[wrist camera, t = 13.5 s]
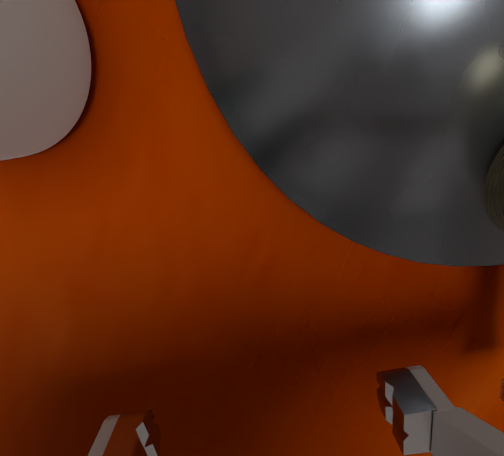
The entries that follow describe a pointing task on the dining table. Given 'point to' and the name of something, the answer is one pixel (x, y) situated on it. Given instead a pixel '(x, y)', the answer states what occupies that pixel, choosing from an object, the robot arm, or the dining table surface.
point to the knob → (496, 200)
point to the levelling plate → (367, 112)
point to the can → (41, 74)
